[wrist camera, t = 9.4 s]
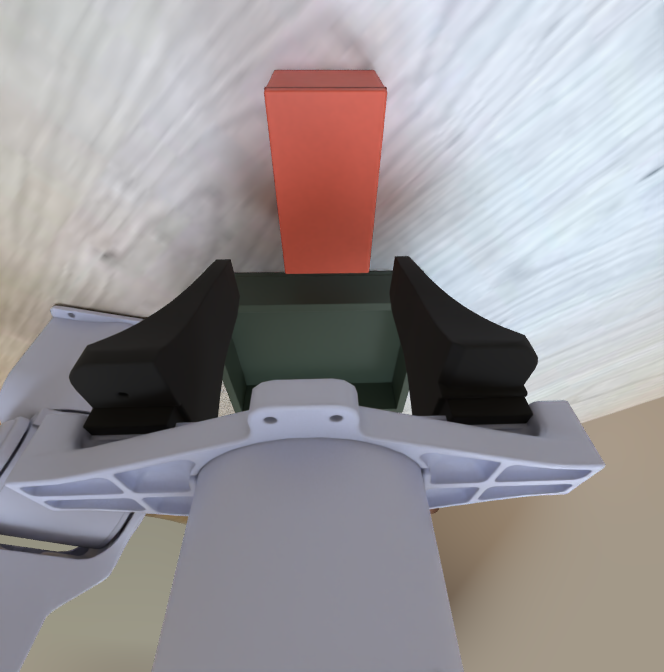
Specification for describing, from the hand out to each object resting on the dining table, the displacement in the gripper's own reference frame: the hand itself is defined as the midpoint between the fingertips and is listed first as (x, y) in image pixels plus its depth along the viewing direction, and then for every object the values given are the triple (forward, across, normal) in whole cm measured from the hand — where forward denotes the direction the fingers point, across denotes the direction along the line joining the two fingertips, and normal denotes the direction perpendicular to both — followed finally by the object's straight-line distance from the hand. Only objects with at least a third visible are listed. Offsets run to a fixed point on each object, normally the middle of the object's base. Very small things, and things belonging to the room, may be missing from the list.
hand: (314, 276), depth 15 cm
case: (+9, -1, -2) cm, 9 cm away
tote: (+9, 0, +13) cm, 16 cm away
